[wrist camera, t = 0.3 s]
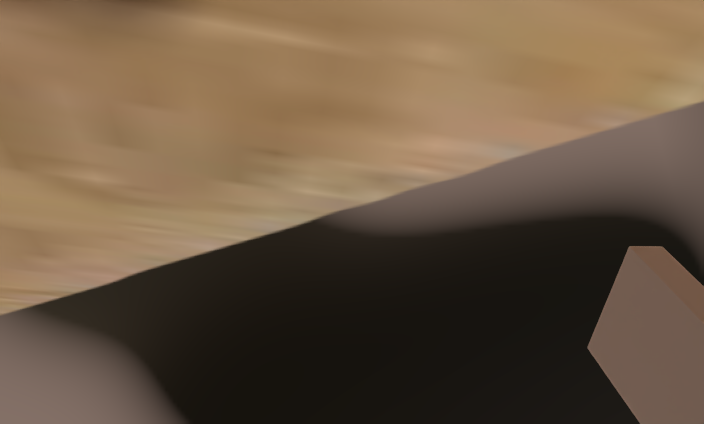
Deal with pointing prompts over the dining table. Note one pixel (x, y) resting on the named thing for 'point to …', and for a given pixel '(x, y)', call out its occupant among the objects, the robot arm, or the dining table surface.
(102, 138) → the dining table surface
